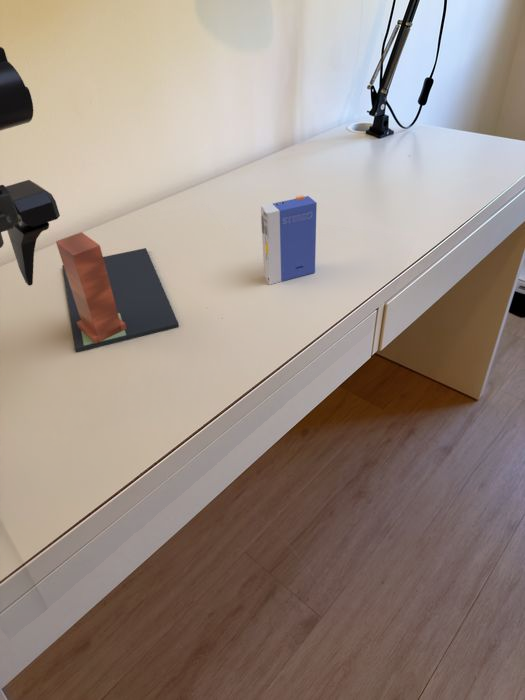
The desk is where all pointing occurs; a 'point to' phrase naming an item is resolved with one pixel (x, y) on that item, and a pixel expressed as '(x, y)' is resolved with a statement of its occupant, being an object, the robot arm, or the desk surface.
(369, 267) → the desk surface
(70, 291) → the dark blue mat
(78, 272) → the reddish brown square pillar
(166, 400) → the desk surface
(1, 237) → the robot arm
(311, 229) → the walkman
